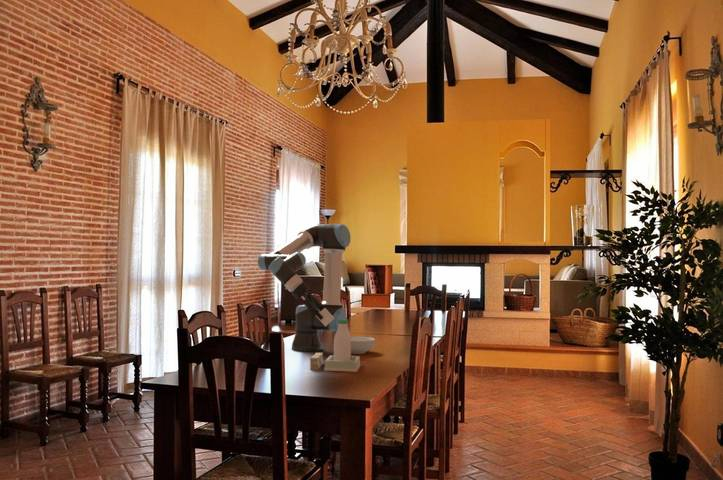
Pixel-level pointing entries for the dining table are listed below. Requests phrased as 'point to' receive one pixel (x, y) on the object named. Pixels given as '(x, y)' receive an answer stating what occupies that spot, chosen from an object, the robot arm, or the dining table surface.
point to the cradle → (342, 364)
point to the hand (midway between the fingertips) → (330, 322)
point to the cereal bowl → (362, 344)
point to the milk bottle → (342, 342)
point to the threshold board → (316, 361)
